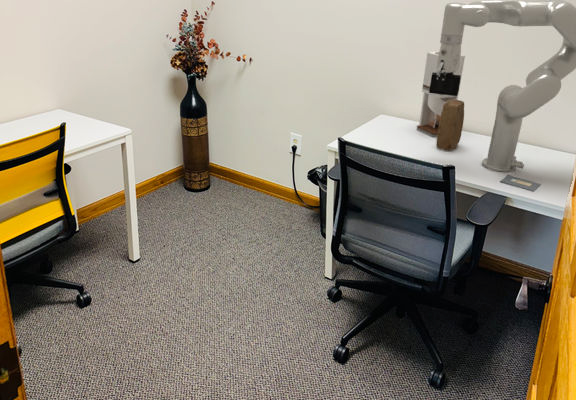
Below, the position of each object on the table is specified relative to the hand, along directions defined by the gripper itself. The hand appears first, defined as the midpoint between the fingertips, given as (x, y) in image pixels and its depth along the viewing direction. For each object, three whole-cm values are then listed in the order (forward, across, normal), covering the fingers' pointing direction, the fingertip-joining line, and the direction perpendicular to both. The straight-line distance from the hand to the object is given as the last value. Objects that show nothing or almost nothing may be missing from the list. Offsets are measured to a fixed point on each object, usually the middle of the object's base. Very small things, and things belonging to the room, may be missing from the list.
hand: (443, 88), depth 204 cm
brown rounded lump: (+29, +19, +2) cm, 35 cm away
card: (+29, +2, -34) cm, 45 cm away
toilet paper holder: (+29, +33, +15) cm, 47 cm away
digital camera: (+2, 0, 0) cm, 2 cm away
